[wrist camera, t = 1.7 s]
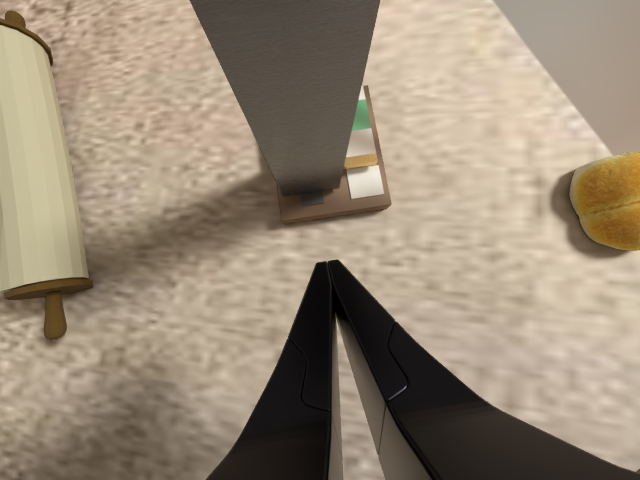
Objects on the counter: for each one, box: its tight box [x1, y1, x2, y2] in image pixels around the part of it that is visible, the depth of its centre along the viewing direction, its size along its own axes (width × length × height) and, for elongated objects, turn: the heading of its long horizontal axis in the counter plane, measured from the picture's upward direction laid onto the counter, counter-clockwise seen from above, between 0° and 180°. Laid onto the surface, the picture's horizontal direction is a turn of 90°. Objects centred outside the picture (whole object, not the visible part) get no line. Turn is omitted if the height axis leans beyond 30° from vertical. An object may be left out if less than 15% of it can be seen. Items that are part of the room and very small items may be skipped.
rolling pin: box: [0, 11, 93, 340], centre depth 22 cm, size 32×6×5 cm, turn 17°
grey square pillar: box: [190, 0, 380, 197], centre depth 13 cm, size 4×9×17 cm, turn 99°
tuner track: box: [276, 85, 391, 224], centre depth 23 cm, size 12×10×2 cm
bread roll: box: [569, 152, 640, 251], centre depth 22 cm, size 8×9×4 cm
